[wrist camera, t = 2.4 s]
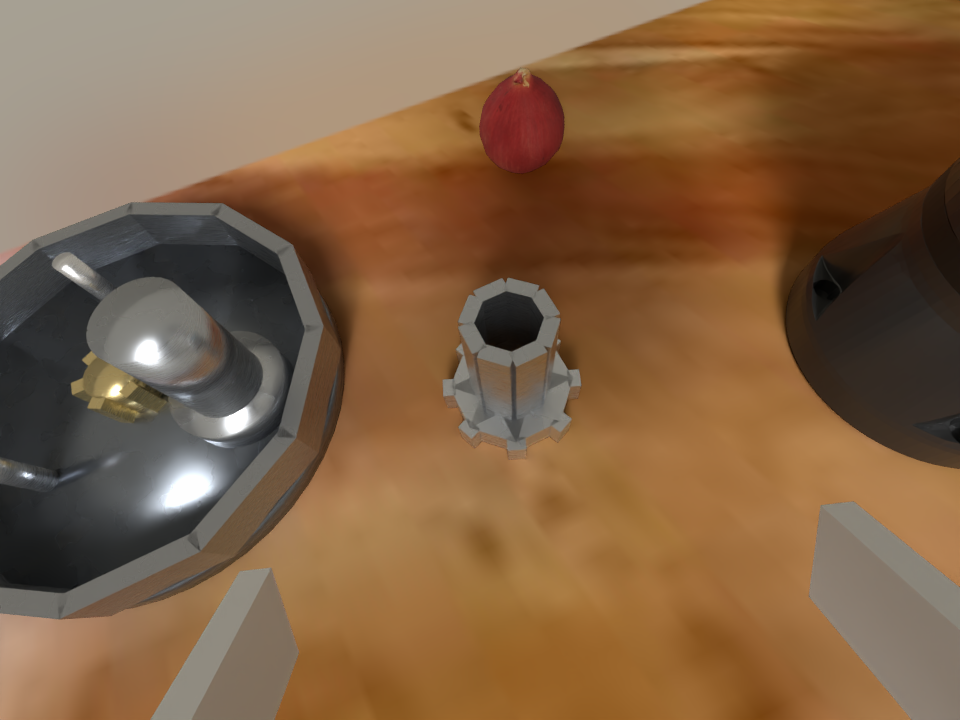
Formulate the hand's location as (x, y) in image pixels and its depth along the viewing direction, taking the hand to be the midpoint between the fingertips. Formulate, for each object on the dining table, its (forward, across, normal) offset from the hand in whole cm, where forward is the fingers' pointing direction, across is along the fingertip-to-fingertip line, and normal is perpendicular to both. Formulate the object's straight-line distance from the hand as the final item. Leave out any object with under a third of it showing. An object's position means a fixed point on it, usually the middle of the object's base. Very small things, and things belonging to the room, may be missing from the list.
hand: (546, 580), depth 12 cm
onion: (+30, +3, +10) cm, 32 cm away
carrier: (+19, -22, -1) cm, 29 cm away
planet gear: (+17, 0, -3) cm, 18 cm away
